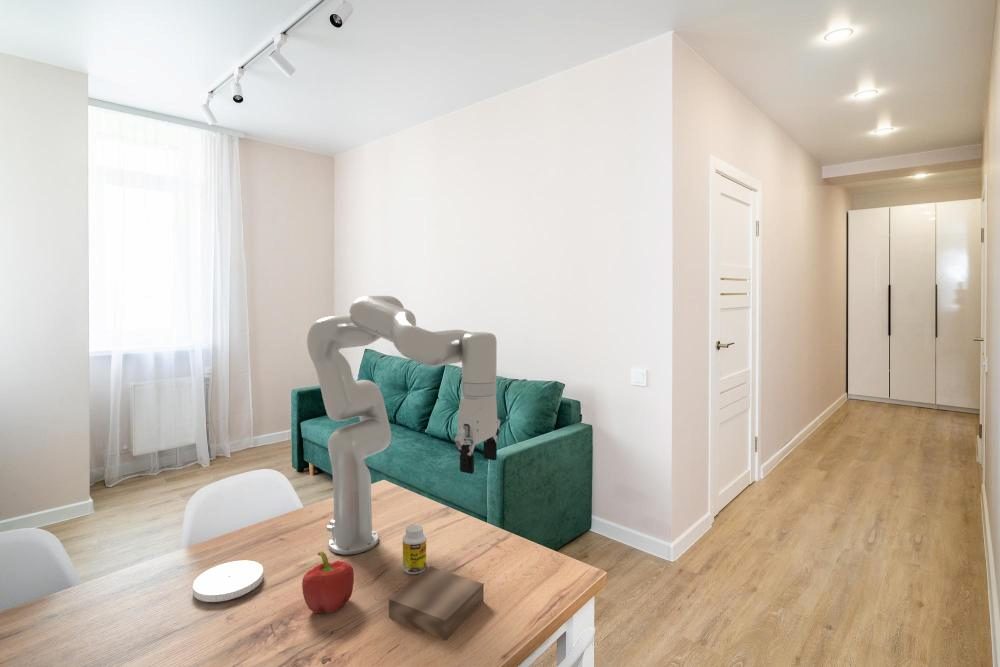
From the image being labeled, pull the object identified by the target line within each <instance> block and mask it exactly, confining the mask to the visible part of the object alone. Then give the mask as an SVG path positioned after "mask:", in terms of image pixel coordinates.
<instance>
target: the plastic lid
mask: <svg viewBox="0 0 1000 667" xmlns="http://www.w3.org/2000/svg"><path fill="white" fill-rule="evenodd" d="M263 579H264V567H263V565H262V564H261V563H259V562H257V561H254V560H253V561H252V560H244V559H243V560H235V561H233V560H232V561H229V562H226V563H222V564H218V565H216V566H214V567H211V568H208V569H206V570H205V571H204V572H202V573H201V574H199V575H198V576H197V577H196V578H195V579H194V581H193V583H192V595H193V597H194V598H195V599H197V600H198V601H201V602H206V603H208V602H209V603H210V602H211V603H216V602H219V603H220V602H224V601H229V600H233V599H236V598H239V597H242V596H243V595H245V594H248V593H249V592H251V591H253V590H255V589H256V588H257V587H258V586H259V585H261V583H262V581H263Z"/></svg>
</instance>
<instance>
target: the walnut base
mask: <svg viewBox="0 0 1000 667" xmlns="http://www.w3.org/2000/svg"><path fill="white" fill-rule="evenodd" d="M484 586H485V585H484V583H482V582H480V581H477V580H473V579H471V578H467V577H465V576H461V575H458V574H455V573H453V572H449V571H445V570H443V569H439V568H436V567H434V566H429V567H428V568H426V569H425V570H424V571H423V572H421V573H419V575H417V576H416V577H415V578H414V579H412V580H410V582H408V583H407V584H406V585H405V586H404V587H402V588H401V589H399V590H398V591H397V592H396V593H394V594H392V595H391V596H390V597H389V598H388V617H389V618H390V619H391V620H393V621H397V622H399V623H402V624H404V625H406V626H409V627H411V628H413V629H416V630H418V631H421V632H424V633H426V634H428V635H430V636H433V637H436V638H438V639H441V640H442V641H447V640H448V639H449V637H451V636H452V635H453V634H454V633H455V631H457V629H458V628H459V627H461V626H462V625H463V623H464V622H465V621H466V620H467V619H468V618H470V616H471V615H472V614H473V613H474V612H475V611H476V610H477V609H478V608H479V607H480V606H481V604H483V603H484V598H485V596H484V594H485V592H484V590H485V589H484V588H485V587H484Z"/></svg>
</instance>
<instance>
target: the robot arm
mask: <svg viewBox="0 0 1000 667" xmlns="http://www.w3.org/2000/svg"><path fill="white" fill-rule="evenodd" d="M348 314H349V315H334V316H332V315H331V316H326V317H323V318H319V319H317V320H315V321H314V323H312V325H311V326H310V328H309V329H308V333H307V339H306V346H307V350H308V354H309V357H310V358H311V361H312V364H313V366H314V369H315V372H316V375H317V379H318V383H319V388H320V392H321V397H322V400H323V405H324V409H325V412H326V415H327V416H328V418H329V419H330V420H331V421H334V422H344V421H349V420H351V419H355V418H359V422H357V421H356V422H353V423H350V424H347V425H345V426H341V427H339V428H338V429H336V430H334V432H332V433H330V434H331V435H330V436H329V438H328V440H327V449H328V450H327V451H328V455H329V459H330V464H331V470H332V488H333V489H332V490H333V519H331V520H330V522H329V524H328V525H327V526H326V527H325V528H326V529H325V530H327V532H331V537H330V538H329V540H328V548H329V550H330V551H331V552H332V553H335V554H336V555H337V554H339V555H344V556H345V555H347V556H348V555H357V554H361V553H365V552H367V551H369V550H370V549H371V550H372V549H373V548H374V547H375V546H376V545H377V544H378V542H379V534H378V532H376V531H375V530H373V516H372V513H373V511H372V510H373V508H372V476H371V472H370V469H369V468H368V466H367V465H366V462H365V461H364V460H365V459H366V458H369V457H371V456H373V455H376V454H378V453H381V452H383V451H385V450H386V449H387V448H388V447H389V446H390V444H391V440H392V430H391V425H390V420H389V418H388V413H387V409H386V405H385V400H384V396H383V394H382V391H381V389H380V388H379V387H378V385H377V384H376V383H375V382H374V381H373V380H372V381H371V380H368V379H361V380H360V379H359V380H355V378H354V376H353V375H354V374H353V372H352V367H351V365H350V363H349V361H348V359H347V358H346V357H345V356H344V355H343V354H342V353H341V352H340V350H341V349H350V348H356V347H366V346H369V345H371V344H373V343H374V342H376V341H378V340H379V339H385V340H387V341H389V342H391V343H393V346H394V347H395V349H396V350H397V351H398V352H399V353H400V355H402V356H404V357H405V358H407V359H409V360H411V361H414V362H416V363H418V364H421V365H424V366H427V367H432V368H436V367H443V366H447V365H451V364H458V363H461V397H460V401H459V407H458V412H457V414H458V415H457V429H456V430H457V432H456V436H455V437H454V442H455V446H456V449H457V452H458V454H459V470H460V472H462V473H466V474H470V475H472V474H474V472H475V455H474V454H473V453H474V450H475V448H476V445H478V444H481V443H482V442H483V459H484V460H489V461H496V460H498V456H497V453H498V451H497V450H498V442H499V438H498V436H499V433H500V426H501V420H500V419H499V418H498V407H497V405H498V404H497V403H498V402H497V361H498V360H497V357H498V356H497V346H498V344H497V343H498V342H497V337H496V335H495V334H494V333H491V332H487V331H486V332H484V331H483V332H482V331H480V332H478V331H476V332H474V331H473V332H471V331H467V330H464V329H450V330H449V329H447V330H438V331H430V330H427V329H425V328H421V327H419V326H417V319H416V317H415V314H414V313H413V312H412V311H411V310H408V309H406V308H405V307H404V305H403V303H402V302H401V301H400V300H399V299H398V298H396V297H395V296H391V295H366V296H364V295H363V296H361V297H359V298H357V299H356V300H354V301H353V302H352V303H351V305H350V308H349V312H348ZM467 445H469V446H467Z"/></svg>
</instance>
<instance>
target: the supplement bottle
mask: <svg viewBox="0 0 1000 667" xmlns="http://www.w3.org/2000/svg"><path fill="white" fill-rule="evenodd" d="M402 569H403V571H404V572H405V573H406V574H408V575H417V574H421V573H423V572H424V571H425V570H427V535H426V533H424V527H423V525H421V524H418V523H414V524H410V525H408V526H406V527H405V534H404V535H403V536H402Z"/></svg>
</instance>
